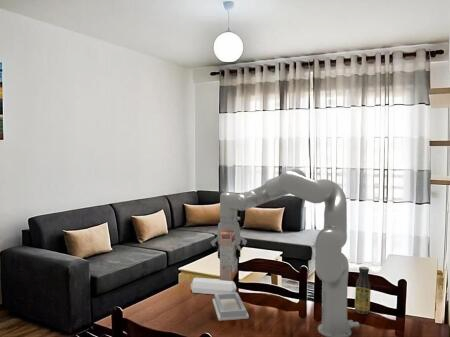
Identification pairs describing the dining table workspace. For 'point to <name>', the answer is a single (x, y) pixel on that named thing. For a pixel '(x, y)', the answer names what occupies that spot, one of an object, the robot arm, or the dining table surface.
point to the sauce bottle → (362, 292)
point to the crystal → (212, 286)
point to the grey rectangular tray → (229, 307)
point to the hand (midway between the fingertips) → (229, 258)
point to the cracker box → (228, 256)
